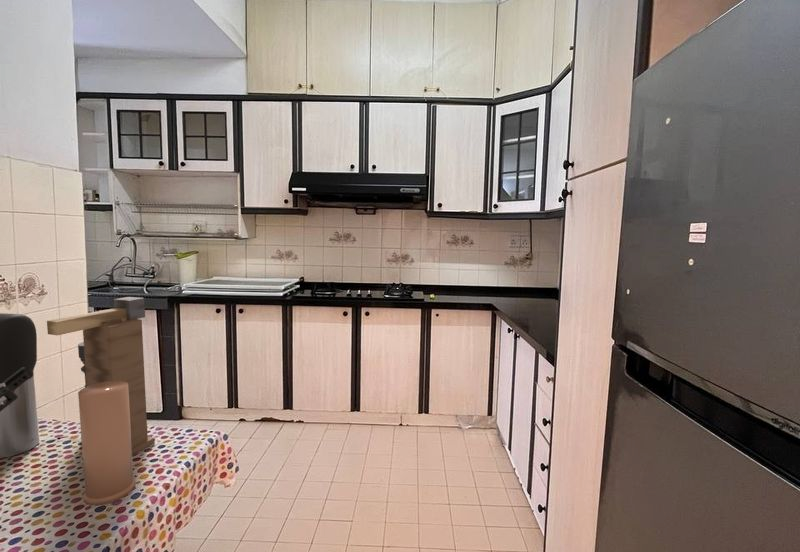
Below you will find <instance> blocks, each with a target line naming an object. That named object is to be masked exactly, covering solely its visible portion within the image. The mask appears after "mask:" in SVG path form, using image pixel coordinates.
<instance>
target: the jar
mask: <svg viewBox="0 0 800 552" xmlns="http://www.w3.org/2000/svg"><path fill="white" fill-rule="evenodd" d="M77 393H78V395H77V396H78V408H79V410H78V411H79V422H80V423H79V425H80V438H81V450H82V451H81V453H82V466H83V467H82V468H83V480H84V490H83V493H82V495H83V502H84V503H85V504H86V505H88V506H102V505H108V504H110V503H114V502H116V501H119V500H121V499H122V498H124V497H126V496H128V495H129V494H130V493H131V492H132V491H134V489H135V487H136V477H135V475H134V468H133V467H134V466H133V457H132V444H131V426H130V408H129V390H128V383H127V382H124V381H108V382H102V383H97V384H93V385H90V386H87V387H85V386H84V387H82V388H81V389H80V390H79V391H78V392H77Z"/></svg>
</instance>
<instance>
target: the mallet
mask: <svg viewBox="0 0 800 552" xmlns="http://www.w3.org/2000/svg"><path fill="white" fill-rule="evenodd" d="M145 309H146V305H145V298H144V297H136V296H135V297H134V296H125V297H120V298H114V299H113V308H109V309H103V310H97V311H92V312H88V313H87V312H86V313H81V314H77V315H71V316H66V317H65V316H64V317H60V318H55V319H49V320H46V328H47V335H52V336H53V335H54V336H62V335H65V334H69V333H70V334H71V333H74V332H75V333H76V332H79V331H83V330H85V329H89V328H94V327H98V326H102V322H104V321H108V320H113V319H118V318H122V321H125V320H135V319H143V318H146V310H145Z"/></svg>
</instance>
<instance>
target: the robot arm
mask: <svg viewBox="0 0 800 552" xmlns="http://www.w3.org/2000/svg"><path fill="white" fill-rule="evenodd" d="M37 339H38V337H37V328H36V324H35V323H34V321H33V319H32V318H30V317H29V316H27V315H25V314H19V313H1V312H0V459H1V458H3V459H4V458H8V457H13V456H17V455H19V454H22V453H25V452H27V451H29V450H31V449H33V448H35V447H36V446H38V444H39V443H40V435H39V422H38V410H37V408H38V407H37V400H36V399H37V398H36V388H35V387H36V386H35V374H34V370H35V367H36V365H37V360H38V349H37V348H38V345H37V344H38V342H37Z"/></svg>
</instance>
